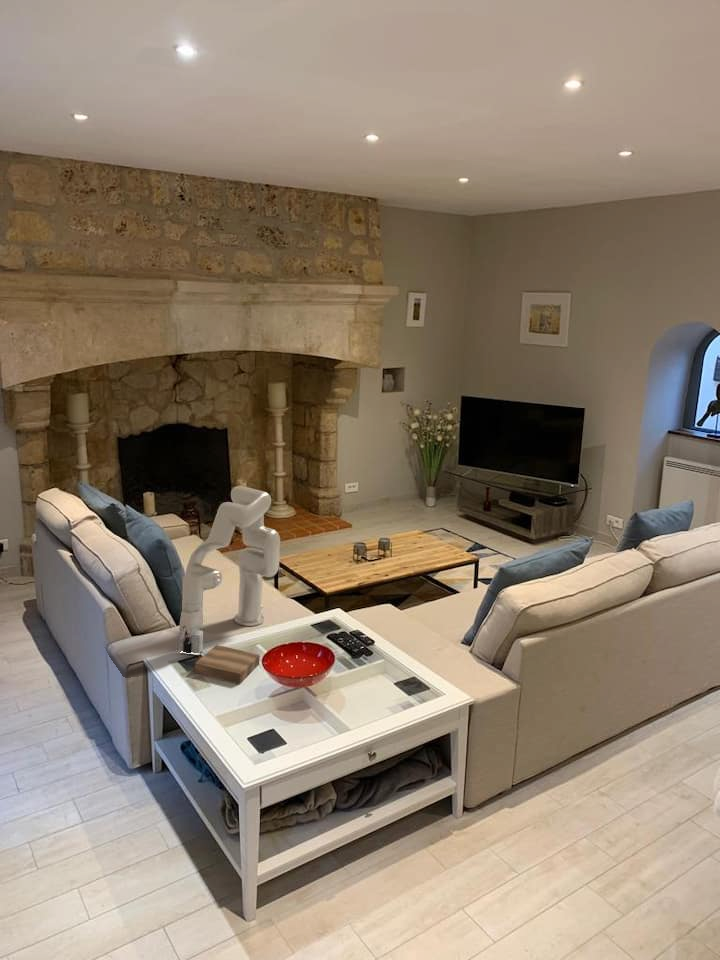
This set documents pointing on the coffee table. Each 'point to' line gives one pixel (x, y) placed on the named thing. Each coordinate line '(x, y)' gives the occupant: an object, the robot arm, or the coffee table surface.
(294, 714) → the coffee table surface
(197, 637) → the medicine box
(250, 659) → the wooden block
